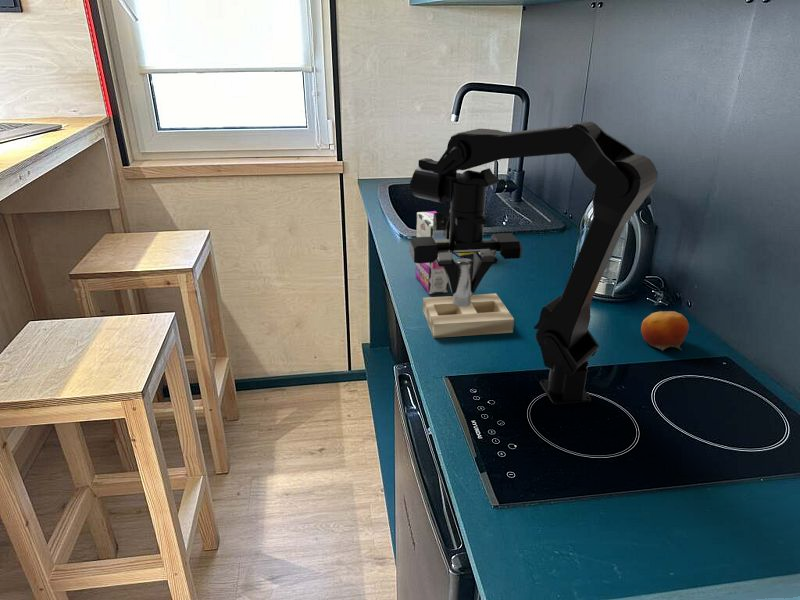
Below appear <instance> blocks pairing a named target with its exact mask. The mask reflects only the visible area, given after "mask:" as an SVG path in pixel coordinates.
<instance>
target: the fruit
mask: <svg viewBox="0 0 800 600" xmlns="http://www.w3.org/2000/svg"><path fill="white" fill-rule="evenodd" d="M689 328H690V324H689V321H688V319H687V318H686V317H685V316H684V315H683V314H682V313H679V312H677V311H674V310H673V311H667V310H666V311H665V310H664V311H662V310H659V311H656V312H652V313H650V314H649V315H648V316H646V317H645V318H644V319H643V321H642V322H641V328H640V333H641V335H642V339H643V340H644V341H645V342H646V343H647V344H648V345H649V346H651V347H654V348H656V349H659V350H661V351H662V352H664V350H666V349H668V348H677V349H679V350H680V351H682V350H683V349H682V348H681V347H680V346H681V345H682V344H683V342H684V341H685V338H686V337H687V334H688V331H689ZM682 352H683V351H682Z"/></svg>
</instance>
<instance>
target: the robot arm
mask: <svg viewBox="0 0 800 600" xmlns="http://www.w3.org/2000/svg"><path fill="white" fill-rule="evenodd" d="M446 147H447V148H446V150H445V151H444V153H443V154H442V156H440V159H439V160H437V161H436V160H434V159H433V158H427V157H425V158H421V159H419V160H418V166H417V167H416V168H415V170H414V172H413V174H412V176H411V179H410V182H409V187H410V190H411V191H410V192H411V194H412V195H413V196H414V197H416V198H419V199H422V200H428V201H432V202H437V203H441V204H445V203H447V202H448V201H449V200H450V209H449V211H448V217H447V216H446V213H445V212H437V213H434V217H433V228H434V231H441V230H443V233H444V236H445V238H446V239H449V242H444V243H436V242H435V241H434V239H433V237H415V236H413V237H412V238H411V239H410V241H409V250H408V251H409V253H410V256H411V258H412V260H413V263H415V264H416V263H433V262H434V261H436V263H437V265H438V266H441V267H444V270H445V272H446V276H447V279H448V287H449V288H450V291H451V294H452V295H454V294H455V289H456V263H455V261H454V259H453V254H454V253H470V252H473V255H474V256H473V262H474V264H473V279H472V294H474V293H475V292H476V290H477V288H478V287H479V285H480V283H481V282H482V280H483V278H484V276H485V275H486V274H487V272H488V271H489V269H490V268H491V267H492V265H497V264H498V261H499V260H498V258H497V257H496V254H497V252H499V255H500V256H501V257H502V258H503V259H505V260H510V259H511V260H513V259H521V258H522V254H523V244H522V242H520V240H519V239H518V238H517V237H515V235H513V233H512V232H510V233H509V232H505V233H504V232H503V233H501V232H500V233H492V235H490V240H487V239H486V240H483V238H484V227H485V226H484V225H486V222H487V221H486V220H487V218H486V217H485V212H486V211H485V210H486V199H487V198H486V195H487V187H490V186H494V185H496V184H499V182H500V180H499V178H498V177H497V176H496V174H494V173H493V172H492V170H491V168H488V167H487V168H485V169H483V170H480V171H476V170H470V169H472V168H476V167H480V166H483V165H486V164H490V163H493V162H497V161H500V160H506V159H518V158H527V157H528V158H531V157H541V156H551V155H565V154H569V155H570V156H572V158H574V159H575V161H576V163H577V164H578V167H580V169H581V170H582V172H583V174H584V175H585V178H587V179H589V180H590V181H591V183H593V184H594V185H595V186H594V191H593V197H592V221H591V222H590V226H589V228H588V230H587V233H586V235H585V237H584V240H583V243H582V244H581V248H580V250H579V252H578V255H577V257H576V259H575V262H574V264H573V267H572V270H571V272H570V274H569V277H568V279H567V282H566V284H565V286H564V289H563V292H562V294H561V295H559V296H557V297H555V298H554V299H553V300H552V301H550V302H548V303H547V304H546V305H544V306H543V307H542V308H541V310H540V315H539V319H538V322H537V323H536V324H535V325H534V327H533V329H535V330H536V333H535V341H536V342H537V343H538V346H539V347H540V352H541V356H542V361H543V365H544V367H546V368H548V369H549V373H548V379H541V380H540V381H539V385H540V386H541V387H542V389H543V391H544V393H546V396H547V397H548V399H549V400H550V402H551V403H552V404H553V405H555V406H558V405H568V404H569V405H570V404H582V403H591V402H592V397H591V395H589V393H588V392H587V390H586V389H585V386H586V381H587V374H588V367H589V362H588V360H590V359H591V358H592V357H593V356H595V354H596V353H597V352H598V350H599V349H600V345H599V343H598V342H597V340H596V339H595V337H594V336H593V335H592V333H591V332H590V331H589V326H590V325H589V324H590V321H591V318H592V317H591V303H592V301H593V300H592V299H593V298H594V295H595V294H596V291H597V288H598V287H599V284H600V283H601V279H602V278H603V275H604V274H605V270H606V268H607V266H608V264H609V262H610V261H611V260H610V259H611V258H612V255H613V254H614V250H615V249H616V246H617V244H618V242H619V240H620V237H621V235H622V232H623V230H624V228H625V226H626V224H627V223H628V221H630V219H631V217H632V216H633V215H634V214H635V213H636V211H637V210H638V209H639V208H640V207H641V205H642V204H643V203H644V201H645V200H646V199H647V198H648V195H649V194H650V193H651V191H652V190H653V188H654V187H655V186H656V183H657V180H658V176H659V175H658V170H657V168H656V166H655V164H654V162H653V161H652V160H651V159H650V158H649V157H648V156H645V155H644V154H636V153H635V152H634V151H633V150H632V149H631V148H630V147H629V146H628V145H626V144H624V143H623V142H621V141H619V140H618V139H616V138H615V137H613V136H611V135H610V134H608V133H606V132H605V130H603V129H602V128H601V127H600V126H599V125H598V124H597V123H595V122H593V121H587V120H586V121H582V122H579V123H575V124H569V125H568V124H567V125H561V126H553V127H552V126H551V127H543V128H536V129H527V130H519V131H518V130H517V131H504V130H499V129H490V128H475V129H471V130H466V131H462V132H457V133H454V134H453V135H451V136H450V138H449V140H448V143H447V146H446ZM458 171H463V173H459V172H458Z"/></svg>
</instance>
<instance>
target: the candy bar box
mask: <svg viewBox="0 0 800 600" xmlns="http://www.w3.org/2000/svg"><path fill="white" fill-rule="evenodd" d="M434 213H438V212H437V211H436V210H433V211H431V210H430V211H418V212H416V233H415V235H416V237H433V239H434V241H435V242H436V243H444V242H449V239H446V238H445V236H444V233H443V230H441V231H434V228H433V217H434ZM415 278H416V279H417V281H418V283H420V285H421V286H422V287H423V289H424V290H425V291H426V293H427V294H428V295H437V294H438V295H440V294H447V293H448V292H449V282H448V279H447V276H446V272H445V270H444V267H441V266H438V265H437V263H436V261H434V262H433V263H415Z"/></svg>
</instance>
